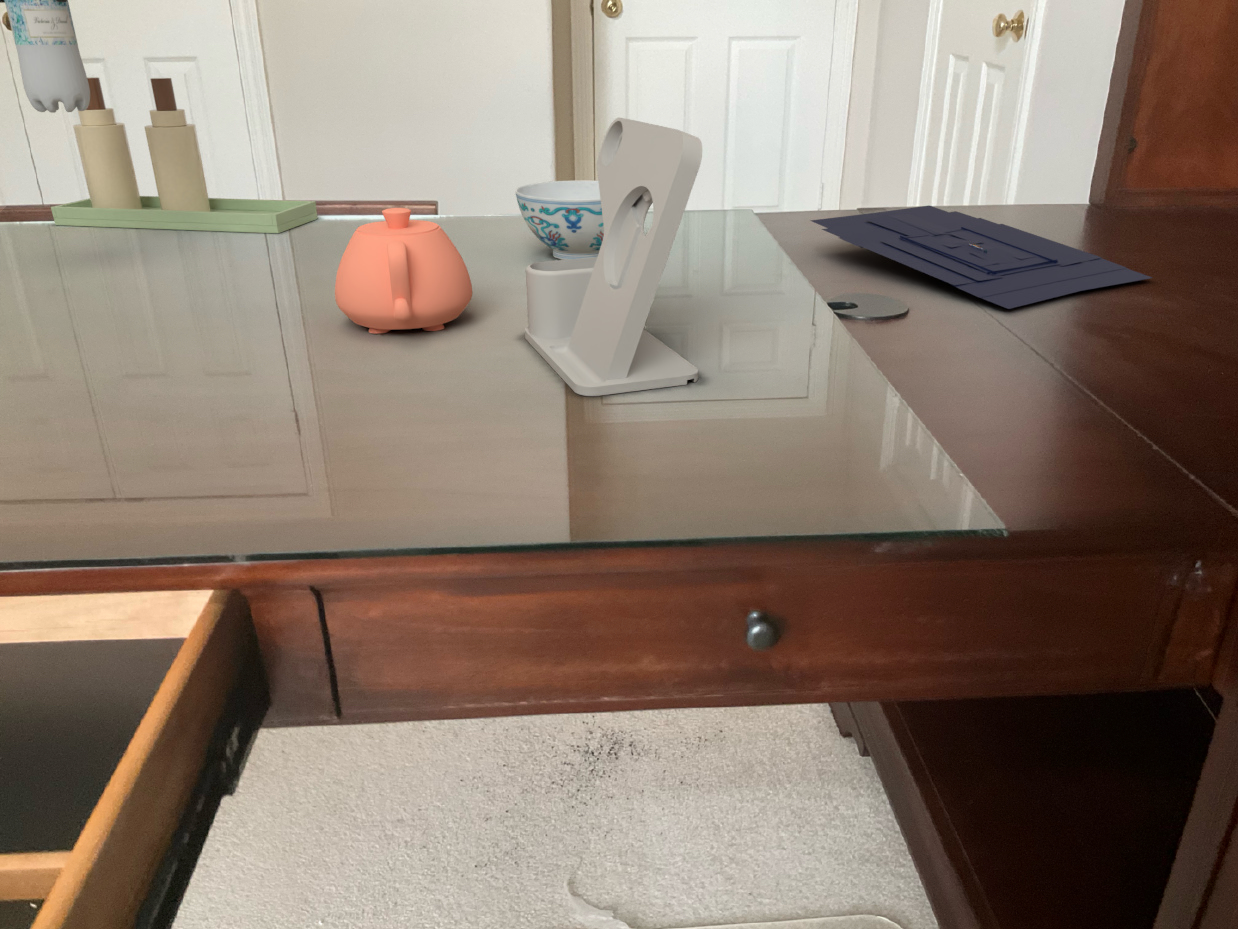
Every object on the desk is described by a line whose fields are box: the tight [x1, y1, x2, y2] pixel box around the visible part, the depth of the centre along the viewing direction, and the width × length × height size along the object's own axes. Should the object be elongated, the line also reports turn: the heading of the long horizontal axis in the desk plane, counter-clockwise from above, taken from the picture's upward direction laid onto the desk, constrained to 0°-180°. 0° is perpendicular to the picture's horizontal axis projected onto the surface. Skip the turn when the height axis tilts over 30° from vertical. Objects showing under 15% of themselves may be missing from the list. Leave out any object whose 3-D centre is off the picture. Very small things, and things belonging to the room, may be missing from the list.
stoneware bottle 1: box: [72, 76, 143, 209], centre depth 130 cm, size 6×6×18 cm
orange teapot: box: [334, 207, 473, 335], centre depth 83 cm, size 12×14×10 cm
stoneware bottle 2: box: [144, 77, 211, 212], centre depth 128 cm, size 6×6×18 cm
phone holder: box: [524, 116, 703, 397], centre depth 73 cm, size 17×10×18 cm, turn 20°
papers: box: [809, 204, 1153, 310], centre depth 105 cm, size 24×30×4 cm
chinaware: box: [515, 179, 604, 260], centre depth 110 cm, size 15×15×8 cm
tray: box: [50, 195, 319, 234], centre depth 132 cm, size 34×11×2 cm, turn 79°
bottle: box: [4, 0, 90, 114], centre depth 99 cm, size 7×7×20 cm
